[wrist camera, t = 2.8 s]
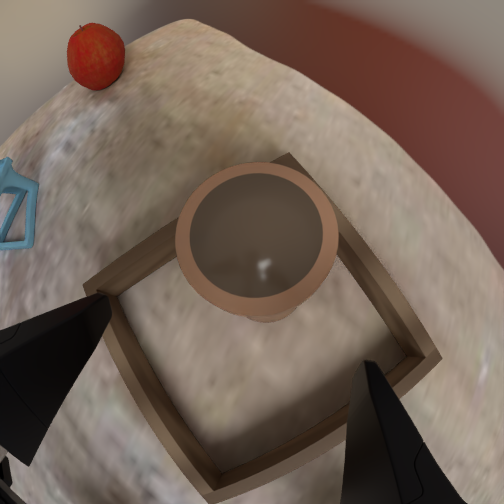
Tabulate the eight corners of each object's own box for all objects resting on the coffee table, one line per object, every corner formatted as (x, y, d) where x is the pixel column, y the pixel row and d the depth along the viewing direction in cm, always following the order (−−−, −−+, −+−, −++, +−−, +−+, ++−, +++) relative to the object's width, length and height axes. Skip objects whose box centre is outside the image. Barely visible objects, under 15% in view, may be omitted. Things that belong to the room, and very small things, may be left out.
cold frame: (422, 357, 17) (442, 358, 14) (218, 487, 15) (210, 505, 13) (288, 174, 23) (288, 152, 20) (103, 292, 21) (82, 284, 18)
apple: (140, 75, 30) (112, 14, 20) (87, 108, 29) (49, 53, 19) (129, 56, 32) (105, 5, 22) (83, 84, 32) (52, 36, 21)
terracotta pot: (327, 295, 19) (371, 251, 10) (252, 345, 19) (227, 349, 9) (277, 227, 21) (276, 139, 12) (207, 272, 21) (151, 213, 11)
